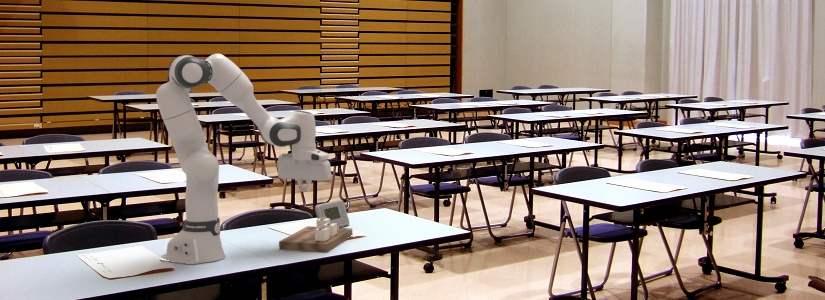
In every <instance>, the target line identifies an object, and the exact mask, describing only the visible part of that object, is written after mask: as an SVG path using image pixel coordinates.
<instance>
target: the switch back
mask: <svg viewBox="0 0 825 300" xmlns="http://www.w3.org/2000/svg"><path fill="white" fill-rule="evenodd" d="M329 222H330V218H326V217H323V218H319V219H318V218H317V219H316V227H317V228H320V227H322V226H323V225H324V224H326V223H329Z"/></svg>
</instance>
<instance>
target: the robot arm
mask: <svg viewBox="0 0 825 300" xmlns="http://www.w3.org/2000/svg"><path fill="white" fill-rule="evenodd" d="M166 80H167V82H166V83H163V84H162V85H160V86H159V87H158V88H157V90H156V93H155V97H156V102H157V107H158V109H159V113H160V115H161V118H162V120H163V123H164V125H165V128H166V130H167V132H168V135H169V138H170V140H171V142H172V145H173V149H174V151H175V154H176V157H177V160H178V163H179V166H180V167H181V169H182V172H183V173H184V174H185V175H186V176H185V177H186V181H185V184H186V185H185V186H186V187H185V188H186V189H185V197H184V199H185V201H184V202H185V203H184V204H185V217H186V218H185V219H184V220H182V221H181V222H180V223H179V224H180V225H179V226H180V227H182V229H181V230H180V231H179V232H178V233H176V234H175V236H173V237H172V238H171V239H170V240H169V241H168V243H167V245H166V246H167V247H166V252H165V253H164V254H162V255H161V256H160V257H161V258H163V259H166V260H169V261H174V262H173V263H176V262H180V263H179V264H183V263H186V264H185V265H195V264H201V263H210V262H215V261H219V260H222V259H224V258H225V257H226V255H225V252H224V248H223V244H222V239H221V219H220V217H219V206H218V204H219V203H218V189H219V179H220V176H219V175H220V172H219V171H220V164H219V160H218V158H217V157H216V156H215V155H214V154H213V153H212V152H210V149H209V147H208V145H207V142H206V138H205V135H204V131H203V127H202V125H201V123H200V120H199V117H198V116H197V113H196V110H195V108H194V105H193V104H192V101H191V98H190V90H191V89H196V88H199V87H201V86H202V85H204V84H206V83H207V84H209V85H210V86H212V87H213V88H214V89H215V90H216V91H217V92H218V93H219V95H221V96H222V97H223V98H225V100H226V101H228V102H229V103H231V104H232V105H233V106H236V107H238V108H239V109H240V110H241V111H242V112H243V113H244V114H245V115H246V116H247V117H248V118H249V119H250V120H251V122H253V123H254V125H255V126H256V128H257V129H258V132H259V135H260V137H261V139H262V140H263V141H264V142H265V143H266V144H268V145H272V146H274V147H275V146H276V147H279V148H285V147H287V146H288V147H289V146H291V153H281V154H280V155H279V156H278V158H277V159H278V160H277V163H278V168H277V176H278V178H279V179H280V180H281V179H284V180H285V179H287V180H296V183H297V185H298V187H299V192H303V193H304V192H307V193H308V192H309V191H310V186H311V184H312V181H321V182H322V181H325V182H326V181H330V180H331V178H332V167H331V163H330V161H329V160H328V159H329V157H330V155H329V153H328V152H325V151H322V150H320V149H318V148H317V144H316V135H317V130H316V118H315V116H314V114H313V113H312V112H310V111H306V110H299V109H296V110H295V109H294V110H293V111H292V112H291V113H290V114H288V115H287V116H285V117H282V118H277V117H275V116H272V115H271V114H270V113H269V112H268V111H267V110H266V109H265V107H263V106H262V105H261V104H260V102H259V101H258V100H257V99H256V97H255V94H254V85H253V83H252V82H251V80H250V78H249V77H248V76H247V75H246V73H244V71H242V70H241V68H240V67H239V66H237V64H235V62H233V61H232V60H231V59H229V58H228V57H226V56H225V55H223V54H221V53H213V54H211V55H210V56H208V57H206V59H202V58H199V57H195V56H193V55H190V54H186V55H184V54H183V55H179V56H177V57H175V58H174V59H173V60H172V61H171V62H170V64H169V67H168V73H167V79H166ZM303 181H305V183H306V185H303ZM169 261H168V262H169Z"/></svg>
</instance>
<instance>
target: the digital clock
mask: <svg viewBox="0 0 825 300" xmlns="http://www.w3.org/2000/svg"><path fill="white" fill-rule="evenodd" d="M314 211H315V213H316V215H315V216H316V217H317V220H318V219H319V218H323V217H326V218H330V222H333V223H337V228H338V227H341V228H344V227H346V226H349V225H350V220H349V214H348V213H347V209H346V206H345V203H344V200H343V199H339V200H332V201H328V202H323V203H321V204H316V205H315V207H314ZM343 226H344V227H343Z"/></svg>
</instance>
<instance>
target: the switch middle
mask: <svg viewBox="0 0 825 300" xmlns="http://www.w3.org/2000/svg"><path fill="white" fill-rule="evenodd" d="M323 226H325V228H329V236H334V235H336V234H337V223H333V222H329V223H326V224H324V225H323Z"/></svg>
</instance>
